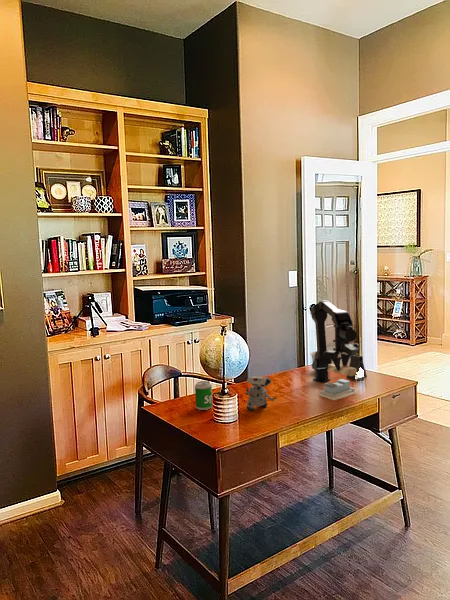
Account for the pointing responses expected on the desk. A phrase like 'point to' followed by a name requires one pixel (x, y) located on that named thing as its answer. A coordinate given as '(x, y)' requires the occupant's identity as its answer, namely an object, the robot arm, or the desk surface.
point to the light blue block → (337, 386)
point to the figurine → (257, 392)
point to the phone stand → (356, 364)
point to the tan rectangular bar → (342, 369)
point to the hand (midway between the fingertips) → (341, 369)
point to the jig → (337, 394)
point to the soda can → (203, 395)
